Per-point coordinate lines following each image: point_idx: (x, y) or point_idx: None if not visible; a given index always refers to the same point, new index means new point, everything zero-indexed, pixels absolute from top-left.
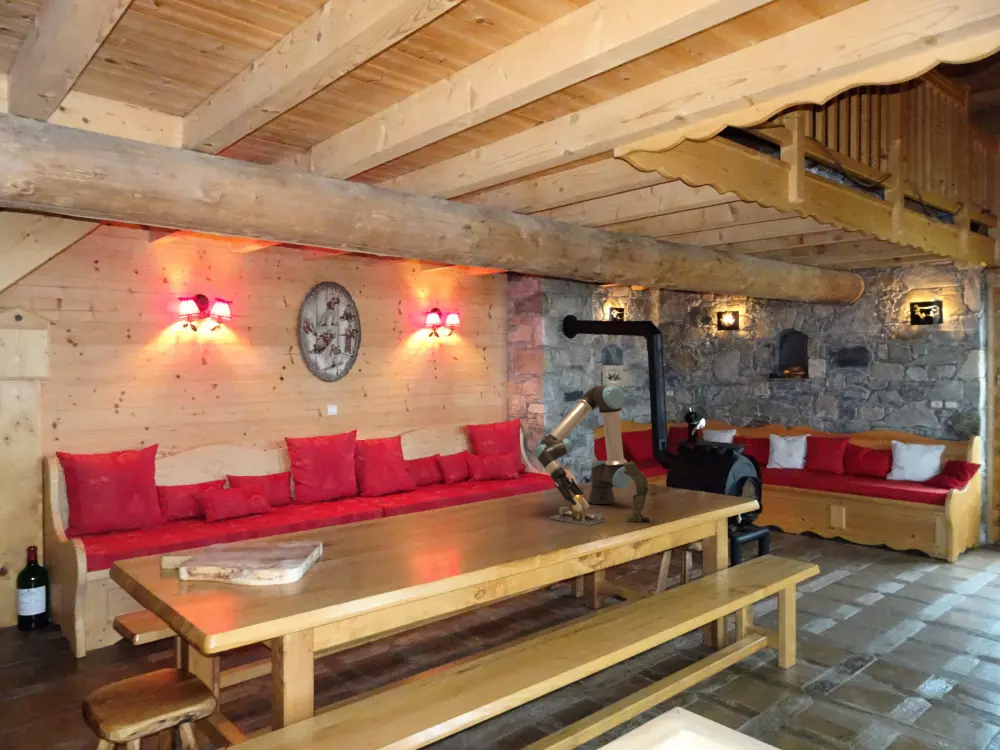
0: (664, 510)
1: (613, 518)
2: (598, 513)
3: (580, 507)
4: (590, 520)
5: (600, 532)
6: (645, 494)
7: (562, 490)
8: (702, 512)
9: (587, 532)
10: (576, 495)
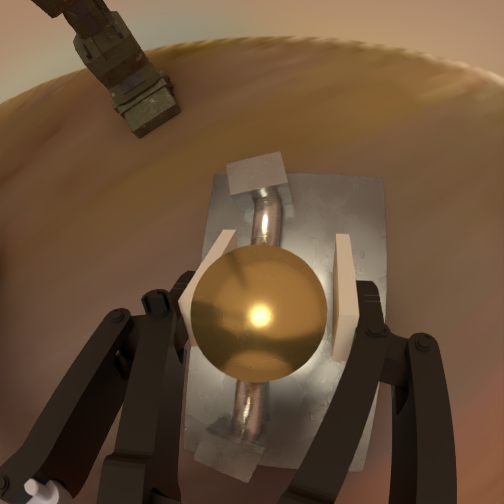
0: (7, 155)
1: (140, 189)
2: (277, 154)
3: (349, 242)
4: (309, 212)
5: (434, 102)
6: (106, 7)
7: (442, 458)
8: (23, 94)
9: (474, 140)
10: (297, 305)
